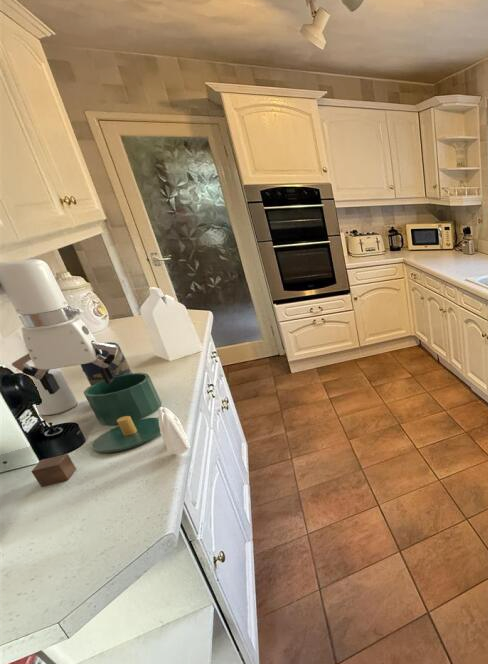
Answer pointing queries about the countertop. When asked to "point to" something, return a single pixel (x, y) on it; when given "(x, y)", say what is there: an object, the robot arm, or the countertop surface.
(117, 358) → the canister
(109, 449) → the tin lid
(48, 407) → the pill bottle
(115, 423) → the tea tin
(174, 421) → the white piece
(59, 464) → the block
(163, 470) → the countertop surface
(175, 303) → the milk
